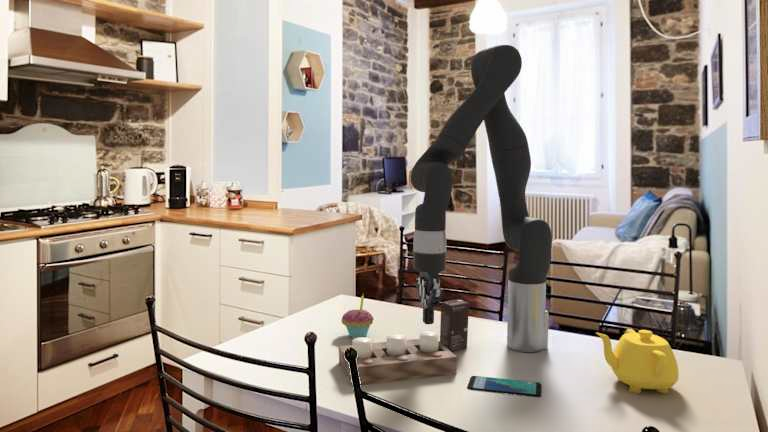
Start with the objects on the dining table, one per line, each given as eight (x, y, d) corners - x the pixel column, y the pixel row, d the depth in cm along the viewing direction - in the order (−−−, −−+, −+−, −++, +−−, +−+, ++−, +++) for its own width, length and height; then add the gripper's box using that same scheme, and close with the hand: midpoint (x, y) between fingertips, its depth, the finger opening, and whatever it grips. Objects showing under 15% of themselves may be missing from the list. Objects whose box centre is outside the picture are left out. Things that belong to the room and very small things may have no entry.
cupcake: (379, 334, 154) (379, 291, 152) (361, 342, 146) (361, 297, 145) (353, 328, 158) (353, 287, 157) (335, 337, 151) (334, 293, 150)
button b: (402, 351, 131) (402, 333, 131) (408, 358, 127) (408, 339, 126) (384, 353, 130) (384, 335, 130) (389, 360, 126) (389, 341, 125)
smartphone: (471, 375, 124) (541, 382, 120) (471, 378, 124) (541, 385, 120) (466, 387, 117) (541, 395, 113) (466, 391, 117) (541, 399, 113)
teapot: (620, 367, 129) (622, 317, 128) (687, 385, 119) (690, 331, 118) (592, 384, 119) (595, 330, 118) (663, 405, 109) (667, 346, 108)
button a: (434, 348, 133) (434, 330, 133) (441, 354, 129) (441, 336, 129) (417, 350, 132) (417, 332, 132) (423, 356, 128) (423, 338, 127)
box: (450, 353, 139) (451, 305, 137) (439, 347, 142) (439, 301, 141) (469, 348, 142) (469, 302, 141) (457, 343, 146) (457, 298, 144)
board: (434, 353, 139) (434, 336, 138) (456, 373, 125) (456, 355, 125) (339, 362, 132) (338, 345, 132) (351, 385, 119) (351, 366, 118)
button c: (369, 355, 129) (369, 336, 129) (374, 361, 125) (374, 342, 124) (350, 356, 128) (350, 338, 127) (354, 363, 124) (354, 344, 123)
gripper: (456, 253, 123) (454, 330, 124) (434, 244, 135) (433, 314, 137) (423, 254, 121) (422, 333, 122) (405, 245, 133) (404, 316, 135)
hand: (428, 323), depth 130 cm, fingers closed
